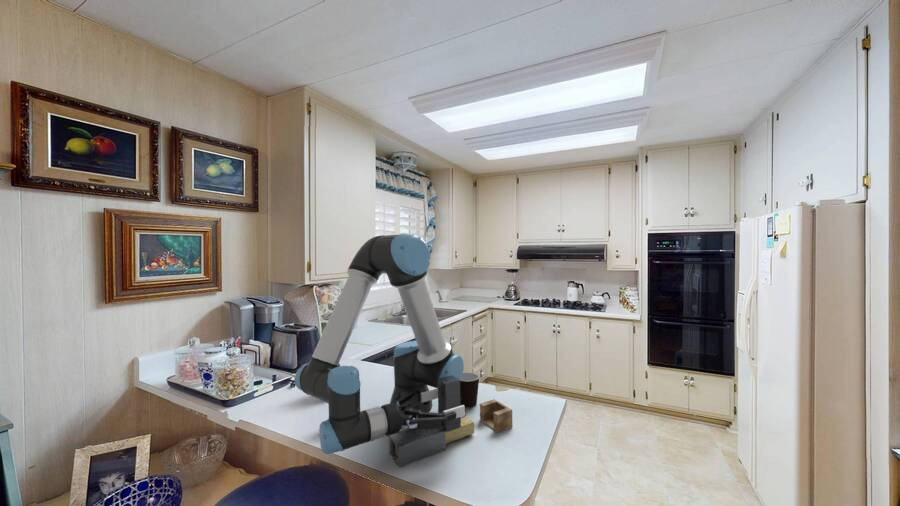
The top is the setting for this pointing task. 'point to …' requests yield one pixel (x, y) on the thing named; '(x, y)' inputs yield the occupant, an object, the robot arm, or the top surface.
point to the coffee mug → (469, 389)
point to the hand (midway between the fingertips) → (451, 400)
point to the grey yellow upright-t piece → (448, 400)
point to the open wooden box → (496, 415)
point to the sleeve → (416, 445)
